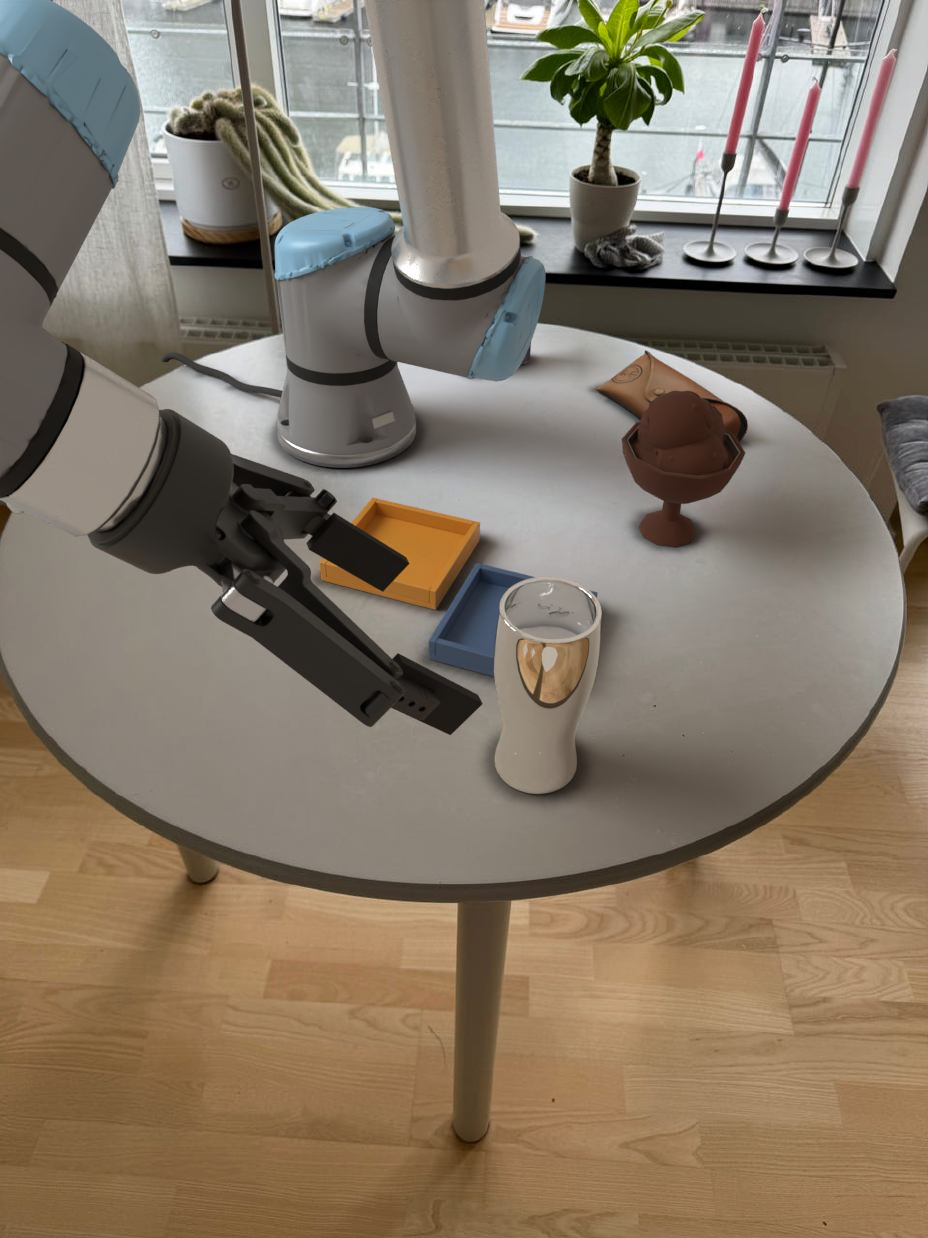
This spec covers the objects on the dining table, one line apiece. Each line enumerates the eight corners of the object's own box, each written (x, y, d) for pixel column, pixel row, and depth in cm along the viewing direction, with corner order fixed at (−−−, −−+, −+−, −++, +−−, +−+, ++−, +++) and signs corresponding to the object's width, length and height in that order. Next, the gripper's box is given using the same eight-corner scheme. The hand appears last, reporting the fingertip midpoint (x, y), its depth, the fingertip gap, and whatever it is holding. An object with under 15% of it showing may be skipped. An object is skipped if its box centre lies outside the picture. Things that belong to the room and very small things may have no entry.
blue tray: (428, 659, 80) (428, 640, 78) (475, 580, 88) (476, 562, 86) (558, 695, 77) (560, 676, 75) (595, 610, 85) (597, 592, 83)
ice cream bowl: (725, 570, 89) (760, 427, 80) (605, 554, 91) (624, 412, 81) (725, 507, 97) (757, 369, 87) (614, 493, 99) (633, 356, 89)
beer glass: (483, 730, 74) (490, 576, 64) (573, 725, 74) (594, 572, 64) (493, 802, 69) (502, 646, 59) (590, 797, 69) (615, 641, 59)
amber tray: (321, 580, 87) (319, 562, 86) (373, 514, 95) (372, 497, 94) (435, 610, 84) (435, 591, 83) (479, 540, 92) (480, 522, 91)
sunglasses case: (589, 386, 115) (617, 335, 113) (625, 402, 120) (653, 352, 117) (689, 456, 104) (723, 400, 101) (724, 470, 108) (758, 417, 106)
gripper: (64, 408, 55) (337, 564, 69) (95, 703, 38) (453, 834, 52) (140, 307, 53) (406, 489, 67) (211, 569, 36) (551, 743, 50)
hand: (427, 639), depth 59 cm, fingers open, 13 cm apart
